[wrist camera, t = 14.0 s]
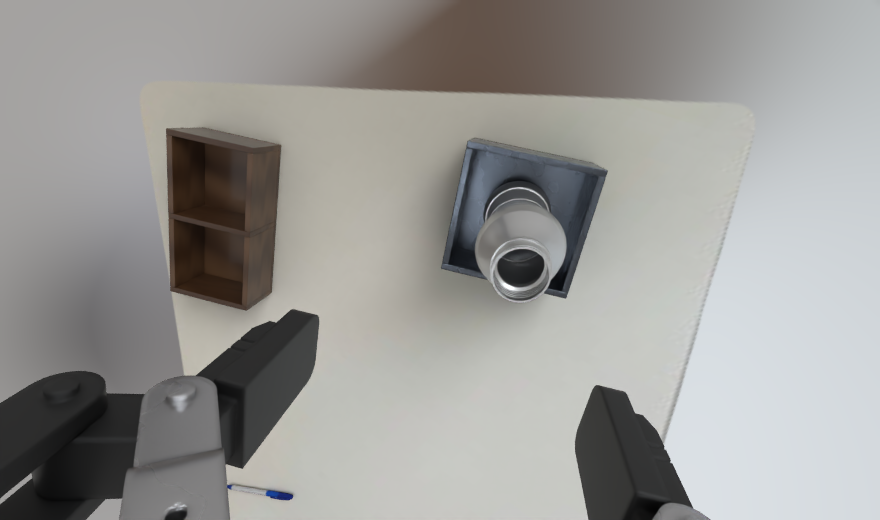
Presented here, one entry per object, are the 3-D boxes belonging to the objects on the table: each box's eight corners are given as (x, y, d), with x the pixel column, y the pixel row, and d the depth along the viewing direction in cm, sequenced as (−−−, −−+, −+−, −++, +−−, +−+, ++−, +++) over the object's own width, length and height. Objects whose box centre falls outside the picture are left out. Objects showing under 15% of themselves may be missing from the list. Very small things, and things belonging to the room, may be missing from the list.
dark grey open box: (474, 137, 43) (467, 140, 37) (593, 162, 42) (608, 170, 36) (450, 248, 48) (440, 268, 41) (558, 274, 46) (566, 298, 40)
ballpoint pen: (293, 492, 63) (290, 498, 62) (294, 496, 63) (290, 502, 62) (228, 483, 65) (224, 488, 64) (229, 487, 65) (225, 493, 64)
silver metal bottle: (471, 212, 45) (443, 279, 26) (516, 163, 43) (520, 198, 24) (516, 252, 46) (520, 345, 27) (563, 205, 43) (602, 271, 25)
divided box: (202, 127, 48) (165, 128, 43) (281, 144, 47) (253, 148, 42) (202, 274, 54) (170, 291, 49) (271, 292, 53) (246, 311, 48)
